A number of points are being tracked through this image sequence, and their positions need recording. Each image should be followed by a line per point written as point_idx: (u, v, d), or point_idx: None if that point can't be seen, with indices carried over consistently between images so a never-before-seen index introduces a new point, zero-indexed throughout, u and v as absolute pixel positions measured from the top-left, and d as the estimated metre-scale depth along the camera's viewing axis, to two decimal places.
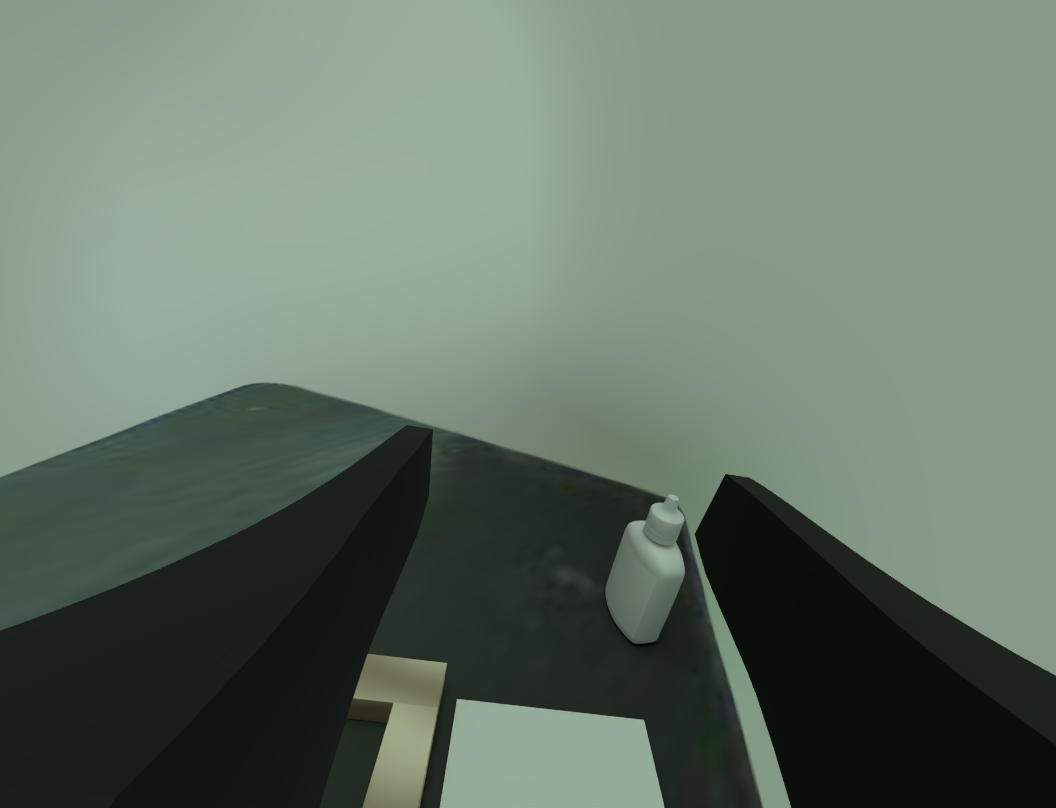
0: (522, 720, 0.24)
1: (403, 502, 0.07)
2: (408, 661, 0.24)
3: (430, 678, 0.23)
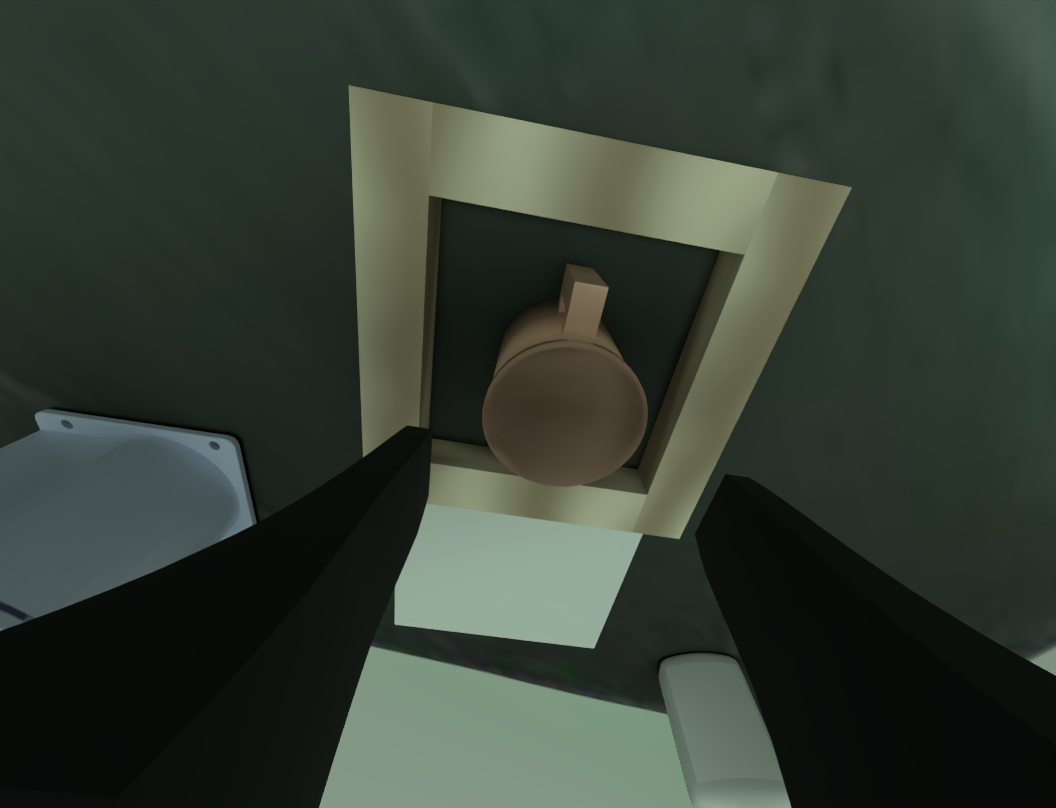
0: (613, 572, 0.24)
1: (403, 502, 0.07)
2: (693, 503, 0.19)
3: (665, 525, 0.19)
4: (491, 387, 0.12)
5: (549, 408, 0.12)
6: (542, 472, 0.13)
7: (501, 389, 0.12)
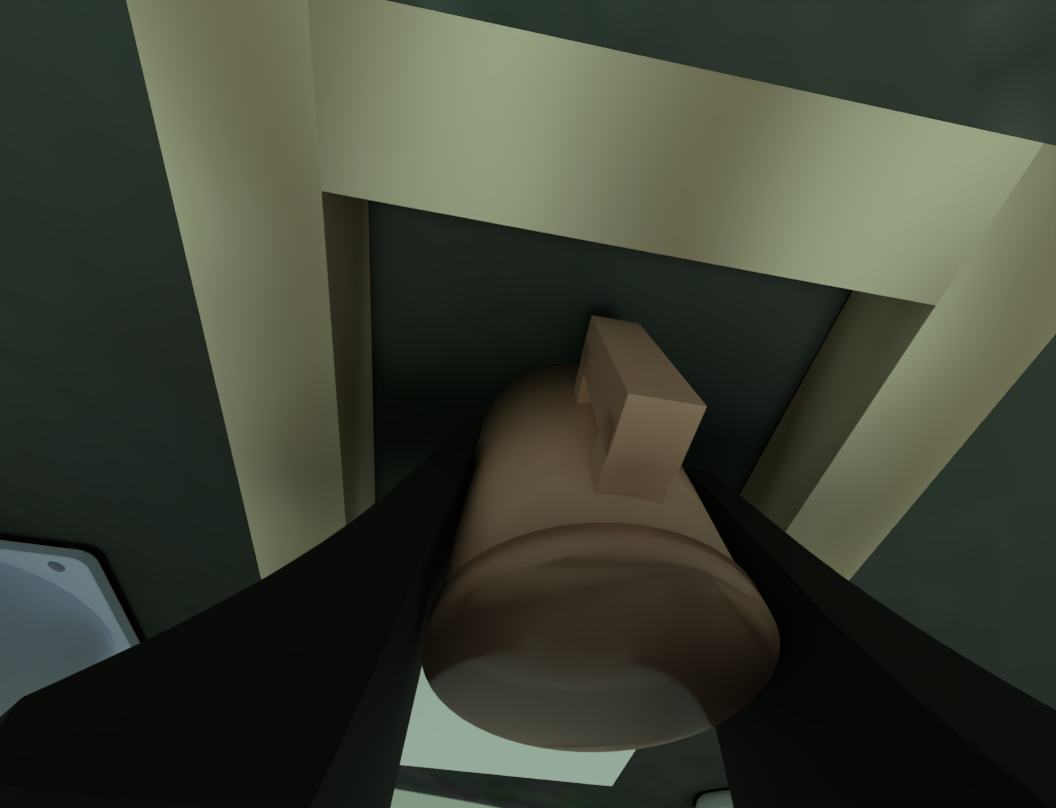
0: None
1: (455, 509, 0.07)
2: None
3: None
4: (436, 618, 0.05)
5: (564, 651, 0.06)
6: (547, 734, 0.07)
7: (458, 622, 0.05)
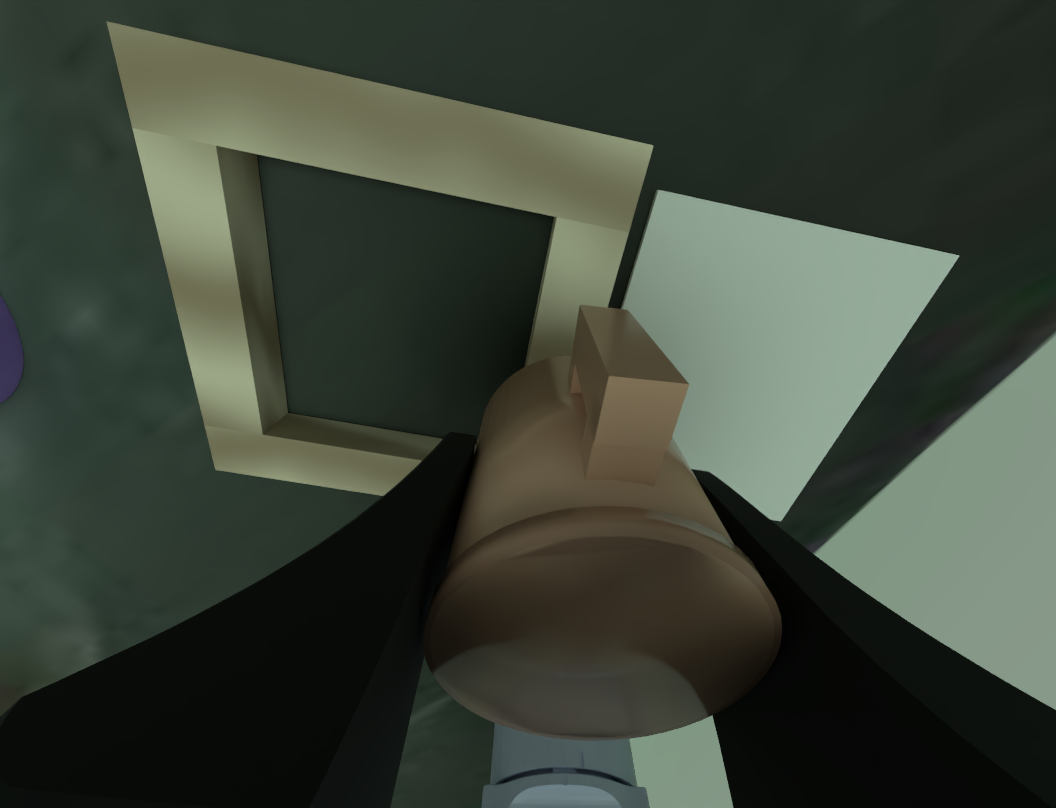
0: (756, 235, 0.15)
1: (455, 509, 0.07)
2: (577, 134, 0.12)
3: (619, 177, 0.12)
4: (434, 610, 0.05)
5: (564, 638, 0.06)
6: (557, 724, 0.07)
7: (456, 612, 0.05)
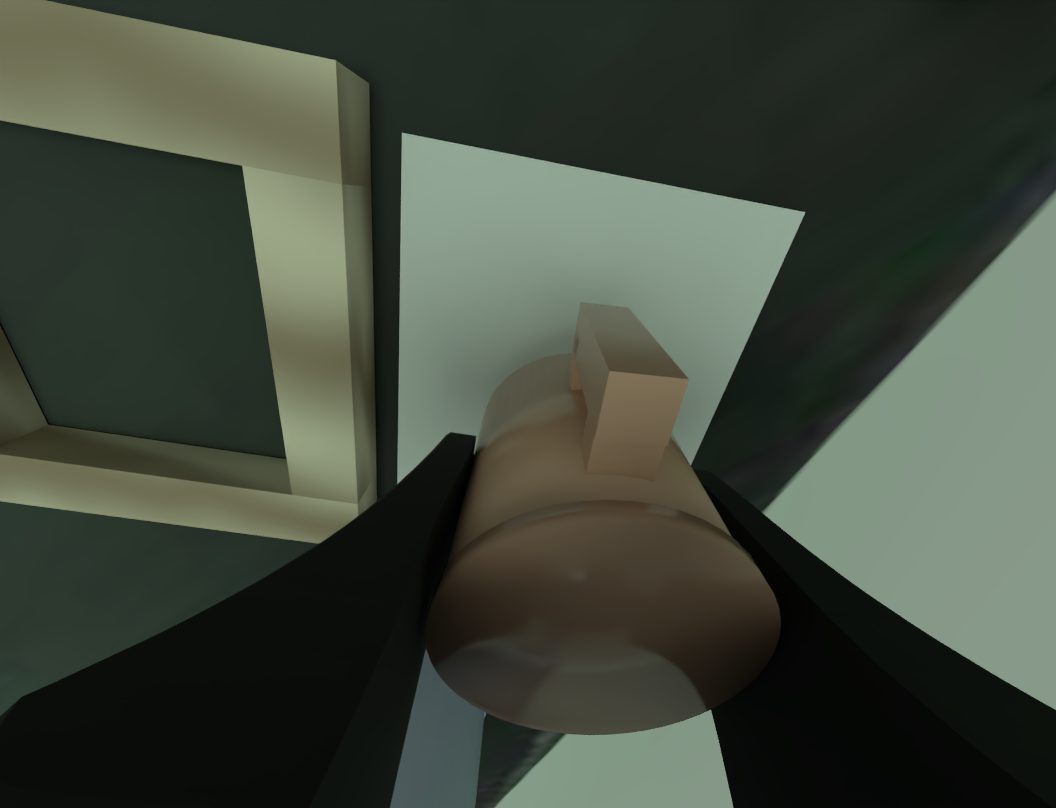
0: (541, 191, 0.11)
1: (455, 509, 0.07)
2: (229, 46, 0.09)
3: (305, 107, 0.09)
4: (436, 603, 0.05)
5: (565, 632, 0.06)
6: (557, 718, 0.07)
7: (458, 606, 0.05)
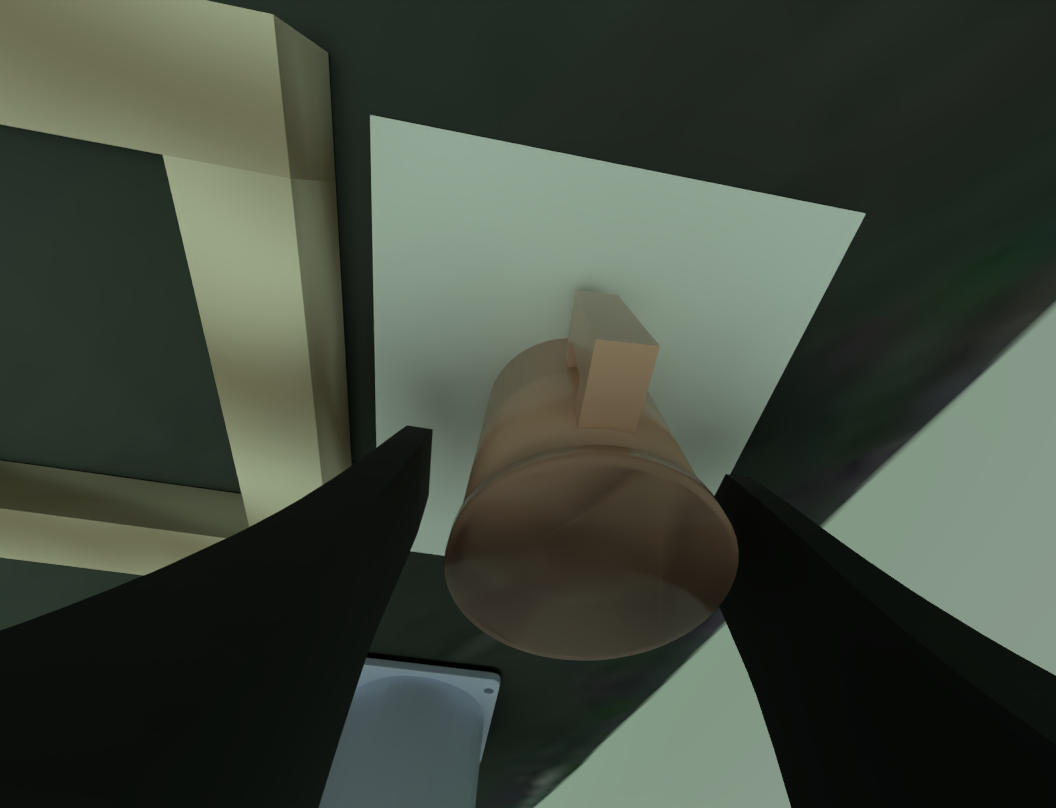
0: (543, 188, 0.09)
1: (403, 502, 0.07)
2: None
3: (237, 78, 0.07)
4: (454, 533, 0.07)
5: (560, 559, 0.07)
6: (554, 643, 0.08)
7: (472, 535, 0.07)
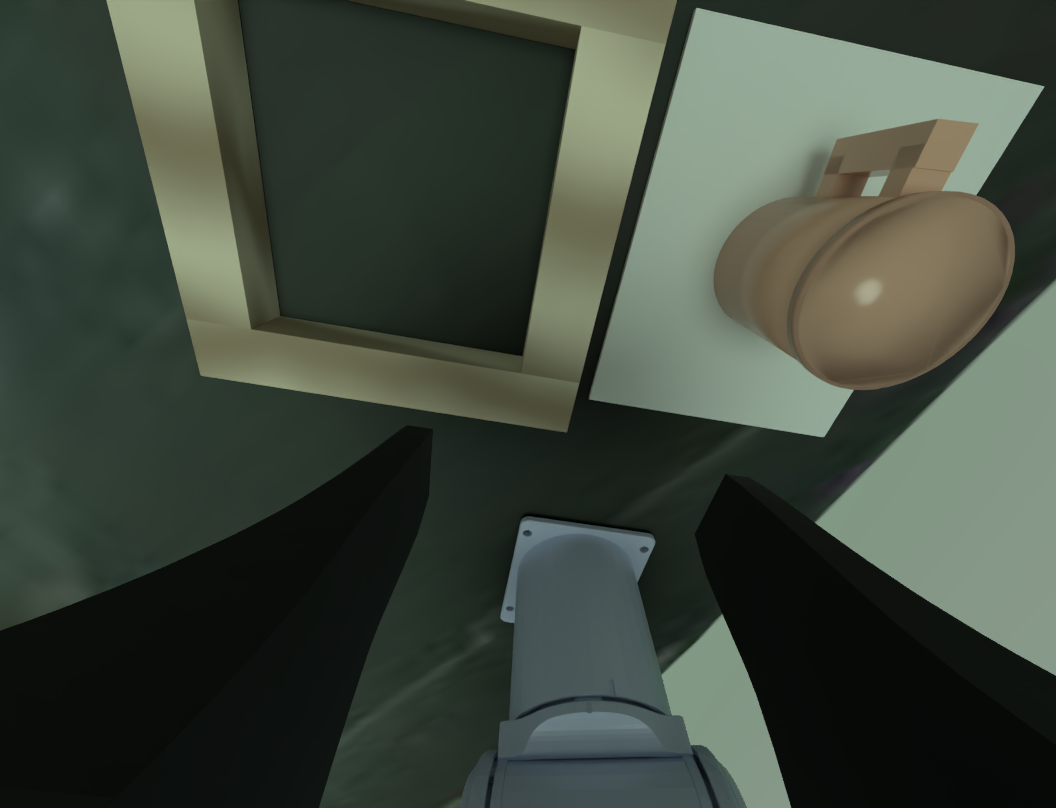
0: (808, 66, 0.13)
1: (403, 502, 0.07)
2: None
3: None
4: (823, 260, 0.10)
5: (886, 284, 0.10)
6: (849, 371, 0.11)
7: (834, 263, 0.10)
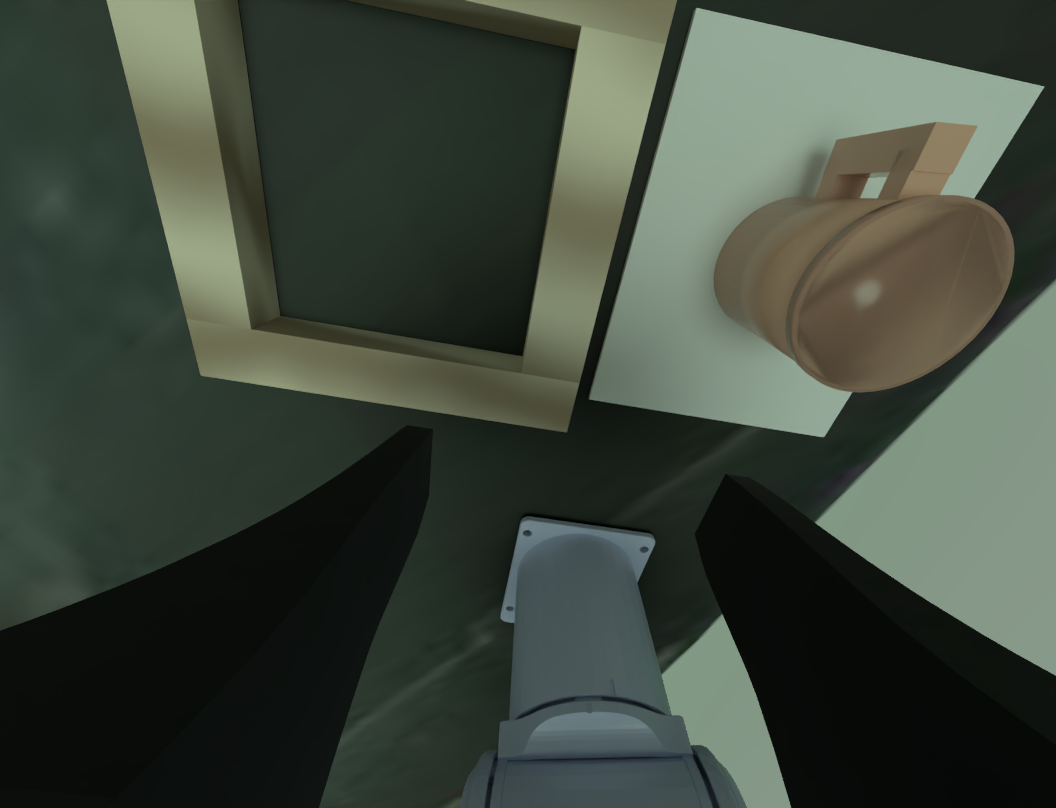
0: (808, 67, 0.13)
1: (403, 502, 0.07)
2: None
3: None
4: (821, 265, 0.10)
5: (885, 288, 0.10)
6: (848, 374, 0.11)
7: (832, 268, 0.10)
